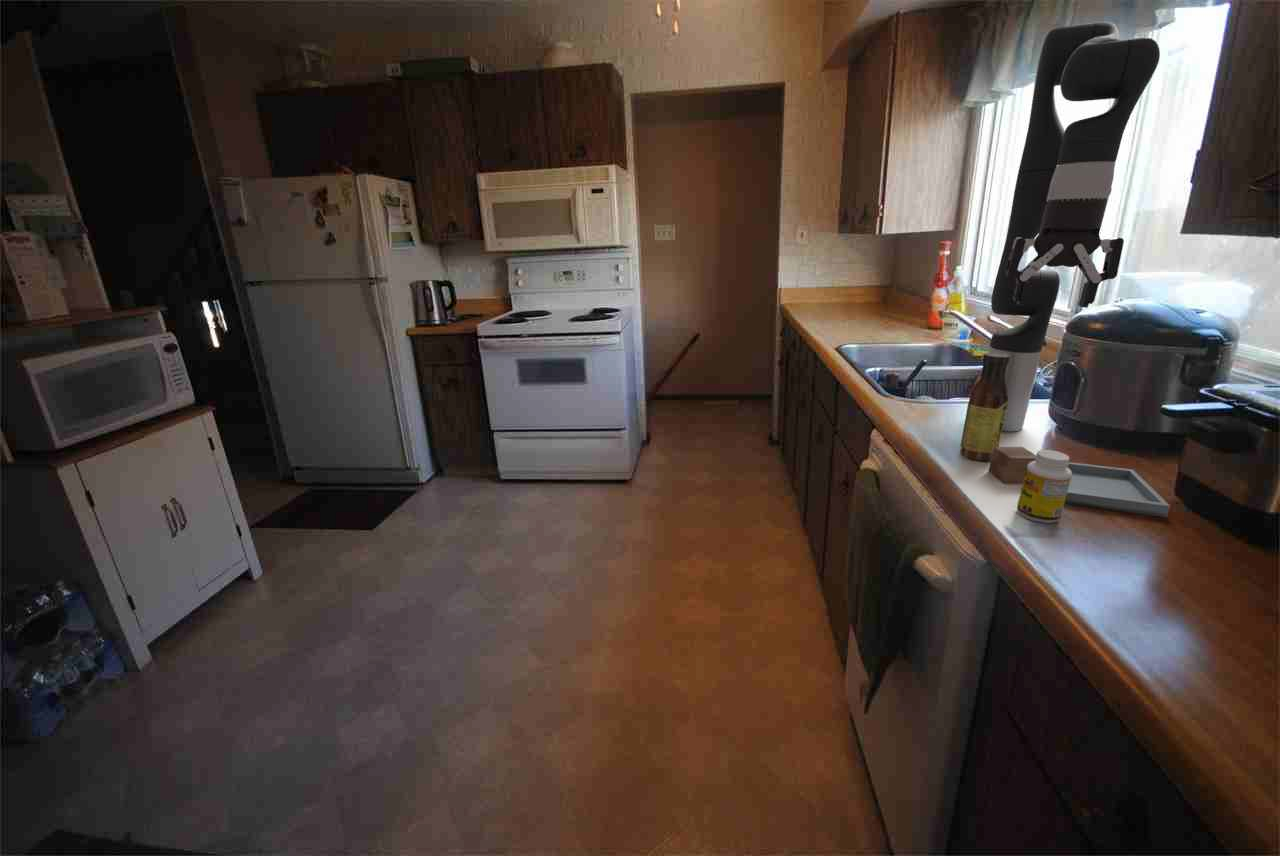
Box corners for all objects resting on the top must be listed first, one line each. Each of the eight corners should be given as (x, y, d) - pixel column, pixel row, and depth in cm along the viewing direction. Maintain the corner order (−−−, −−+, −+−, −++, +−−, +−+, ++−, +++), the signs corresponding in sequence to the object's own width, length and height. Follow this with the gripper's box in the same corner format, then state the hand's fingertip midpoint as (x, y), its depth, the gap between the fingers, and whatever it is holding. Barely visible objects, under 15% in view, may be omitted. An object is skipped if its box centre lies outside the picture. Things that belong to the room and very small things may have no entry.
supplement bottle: (1012, 504, 89) (1027, 445, 86) (1053, 510, 87) (1070, 450, 84) (1020, 520, 85) (1036, 459, 81) (1063, 527, 83) (1082, 464, 79)
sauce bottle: (1001, 463, 104) (1025, 359, 97) (964, 461, 105) (986, 358, 98) (988, 450, 110) (1010, 351, 103) (953, 448, 111) (973, 350, 104)
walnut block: (988, 472, 101) (993, 446, 99) (1016, 472, 101) (1022, 446, 99) (1004, 484, 96) (1010, 458, 95) (1033, 484, 96) (1040, 458, 94)
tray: (1035, 468, 102) (1037, 458, 101) (1129, 480, 97) (1133, 469, 96) (1056, 502, 90) (1060, 491, 89) (1166, 517, 85) (1170, 506, 84)
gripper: (1126, 196, 85) (1097, 304, 91) (1017, 199, 90) (995, 301, 96) (1146, 194, 78) (1113, 311, 84) (1027, 197, 84) (1003, 306, 89)
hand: (1050, 305), depth 90 cm, fingers open, 8 cm apart
